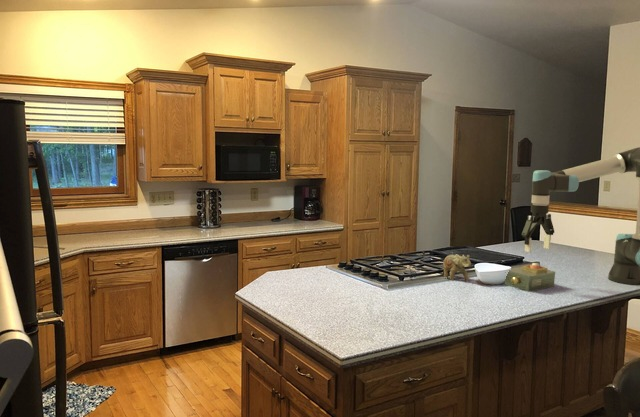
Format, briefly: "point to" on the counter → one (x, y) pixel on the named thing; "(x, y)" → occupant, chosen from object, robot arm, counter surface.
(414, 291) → the counter surface
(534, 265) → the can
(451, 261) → the figurine
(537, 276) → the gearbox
